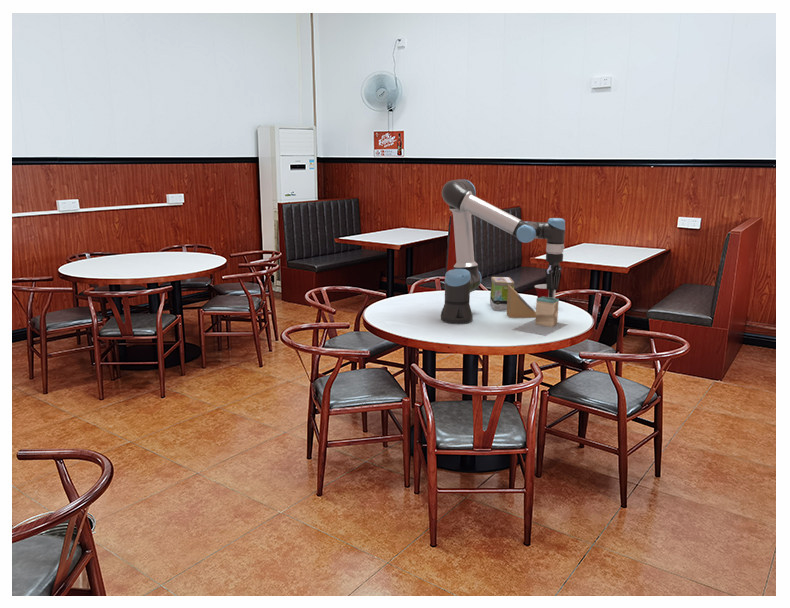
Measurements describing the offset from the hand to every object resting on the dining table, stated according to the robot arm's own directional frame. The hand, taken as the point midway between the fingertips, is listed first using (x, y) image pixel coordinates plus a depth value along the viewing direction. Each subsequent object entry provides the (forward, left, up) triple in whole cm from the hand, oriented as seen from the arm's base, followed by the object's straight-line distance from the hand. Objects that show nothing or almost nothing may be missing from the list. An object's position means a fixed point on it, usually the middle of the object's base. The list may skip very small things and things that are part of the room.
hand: (551, 303), depth 285 cm
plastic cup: (+25, +15, -10) cm, 31 cm away
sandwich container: (+4, +15, -10) cm, 19 cm away
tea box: (+13, +33, -10) cm, 37 cm away
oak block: (-5, 0, -9) cm, 10 cm away
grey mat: (-11, 0, -9) cm, 14 cm away
